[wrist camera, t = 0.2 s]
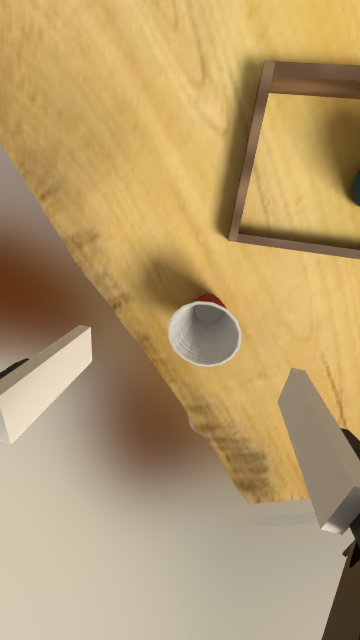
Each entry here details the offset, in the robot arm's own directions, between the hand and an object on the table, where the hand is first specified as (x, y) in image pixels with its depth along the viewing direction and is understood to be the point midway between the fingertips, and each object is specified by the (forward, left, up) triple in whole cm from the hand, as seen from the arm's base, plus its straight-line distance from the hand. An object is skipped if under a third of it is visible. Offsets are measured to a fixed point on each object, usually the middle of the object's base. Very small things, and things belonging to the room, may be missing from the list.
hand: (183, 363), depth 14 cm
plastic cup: (+6, +1, -28) cm, 29 cm away
